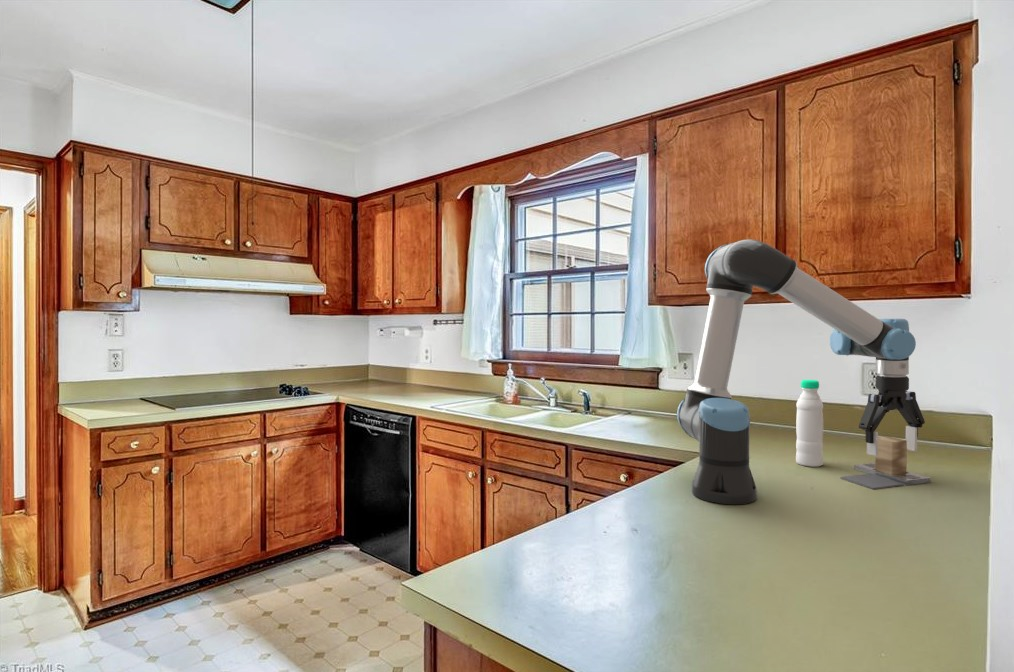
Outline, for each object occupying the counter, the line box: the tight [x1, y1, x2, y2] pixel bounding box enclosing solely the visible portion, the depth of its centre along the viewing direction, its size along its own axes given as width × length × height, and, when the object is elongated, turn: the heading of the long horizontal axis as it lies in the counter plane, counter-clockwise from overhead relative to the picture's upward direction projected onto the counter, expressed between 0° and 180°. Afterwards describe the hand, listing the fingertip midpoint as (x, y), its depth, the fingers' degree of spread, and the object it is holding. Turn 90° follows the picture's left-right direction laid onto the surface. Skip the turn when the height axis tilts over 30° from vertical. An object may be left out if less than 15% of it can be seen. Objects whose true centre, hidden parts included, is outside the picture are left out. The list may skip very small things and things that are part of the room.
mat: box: [840, 473, 905, 490], centre depth 150 cm, size 10×10×1 cm
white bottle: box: [795, 379, 824, 468], centre depth 167 cm, size 7×7×25 cm
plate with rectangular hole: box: [853, 462, 932, 486], centre depth 156 cm, size 8×16×1 cm, turn 15°
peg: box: [874, 436, 908, 475], centre depth 155 cm, size 5×5×10 cm
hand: (891, 452), depth 155 cm, fingers open, 13 cm apart
